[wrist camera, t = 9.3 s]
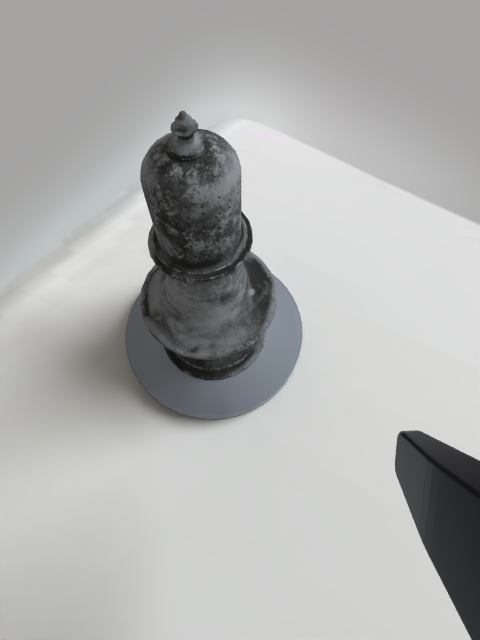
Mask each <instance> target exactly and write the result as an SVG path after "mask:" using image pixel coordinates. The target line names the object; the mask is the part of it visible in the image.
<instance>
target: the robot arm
mask: <svg viewBox="0 0 480 640" xmlns="http://www.w3.org/2000/svg"><path fill="white" fill-rule="evenodd" d="M395 471H396V475H397V478H398V480H399V483H400V486H401V488H402V491H403V493H404V496H405V499H406V501H407V504H408V506H409V509H410V512H411V514H412V517H413V519H414V522H415V525H416V527H417V530H418V532H419V535H420V537H421V540H422V542H423V544H424V546H425V549H426V551H427V553H428V555H429V557H430V559H431V561H432V563H433V565H434V567H435V569H436V571H437V573H438V575H439V576H440V578H441V580H442V582H443V584H444V586H445V588H446V590H447V592H448V594H449V596H450V598H451V600H452V602H453V604H454V606H455V608H456V610H457V612H458V614H459V616H460V618H461V620H462V622H463V624H464V626H465V628H466V629H467V631H468V633H469V635H470V637H471V639H472V640H480V461H479V460H477V459H475V458H473V457H471V456H469V455H467V454H465V453H463V452H461V451H459V450H457V449H455V448H453V447H451V446H449V445H447V444H445V443H443V442H441V441H439V440H437V439H435V438H433V437H431V436H429V435H427V434H425V433H423V432H421V431H417V430H415V431H401V432H400V433H399V434H398V437H397V446H396V457H395Z"/></svg>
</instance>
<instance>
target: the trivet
mask: <svg viewBox="0 0 480 640" xmlns="http://www.w3.org/2000/svg"><path fill="white" fill-rule="evenodd" d="M271 274H272V273H271ZM272 276H273V279H274V281H275V284H276V289H277V305H276V309H275V314H274V318H273V320H272V321H271V323H270V325H269V327H268V328H267V330H266V337H265V342H264V346H263V349H262V351H261V352H260V354H259V356H258V358H257V359H256V360H255V361H254V362H253V363H252V364H251V365H250V366H249V367H248V368H247V369H246V370H244V371H242V372H241V373H239V374H237V375H235V376H233V377H229V378H225V379H222V380H204V379H200V378H195V377H192V376H190V375H188V374H186V373H185V372H183V371H181V370H180V369H179V368H178V367H177V366H176V365H174V364H173V363H172V362H171V360H170V358H169V357H168V355H167V353H166V351H165V349H164V346H163V345H162V344H161V343H160V342H159V341H158V340H157V339H155V338H154V337H153V336H152V335H151V333H150V331H149V329H148V327H147V326H146V324H145V322H144V320H143V316H142V311H141V306H140V299H141V294H140V295H139V297H138V298H137V300H136V302H135V304H134V306H133V308H132V310H131V313H130V316H129V319H128V323H127V328H126V349H127V354H128V358H129V362H130V364H131V367H132V369H133V371H134V373H135V375H136V376H137V378H138V379H139V381H140V382H141V384H142V385H143V386H144V388H145V389H146V390H147V391H148V392H149V394H150V395H151V396H153V397H154V398H155V399H156V400H157V401H158V402H159V403H161V404H162V405H164V406H166V407H167V408H169V409H171V410H173V411H175V412H177V413H179V414H182V415H185V416H189V417H193V418H199V419H211V420H216V419H227V418H231V417H236V416H240V415H242V414H245V413H248V412H250V411H252V410H254V409H256V408H258V407H260V406H262V405H263V404H264V403H266V402H267V401H269V400H270V399H271V398H272V397H273V396H275V395H276V394H277V393H278V392H279V391H280V390H281V388H282V387H283V386H284V385H285V383H286V382H287V381H288V379H289V377H290V375H291V374H292V372H293V370H294V367H295V365H296V362H297V359H298V356H299V352H300V349H301V343H302V323H301V317H300V313H299V310H298V307H297V305H296V303H295V301H294V299H293V297H292V295H291V294H290V292H289V291H288V289H287V288H286V287H285V286H284V284H283V283H282V282H281V281H280V280H279V279H278V278H276V277H275V276H274V275H273V274H272Z"/></svg>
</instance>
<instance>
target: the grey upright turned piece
mask: <svg viewBox="0 0 480 640" xmlns="http://www.w3.org/2000/svg"><path fill="white" fill-rule="evenodd" d="M171 131H172V133H169V134H167V135H165V136H163V137H162V138H160V139H158V140H157V141H156V142H155V143H154V144H153V145H152V146H151V147H150V149H149V150H148V152H147V154H146V156H145V158H144V159H143V161H142V165H141V184H142V188H143V192H144V195H145V199H146V202H147V206H148V209H149V212H150V216H151V219H152V222H153V225H152V228H151V230H150V232H149V238H148V247H149V252H150V256H151V258H152V259H153V261H154V263H155V266H154V267H153V268H152V269H151V271H150V272H149V273H148V275H147V277H146V279H145V282H144V284H143V287H142V290H141V299H140V306H141V311H142V316H143V320H144V322H145V324H146V326H147V327H148V329H149V331H150V333H151V335H152V336H153V337H154V338H155V339H157V340H158V341H159V342H160V343H161V344H162V345H163V346H164V349H165V351H166V353H167V355H168V357H169V358H170V360H171V362H172V363H173V364H174V365H176V366H177V367H178V368H179V369H180V370H181V371H183V372H185V373H186V374H188V375H190V376H192V377H195V378H200V379H204V380H222V379H225V378H229V377H233V376H235V375H237V374H239V373H241V372H242V371H244V370H246V369H247V368H248V367H249V366H250V365H251V364H252V363H253V362H254V361H255V360H256V359H257V358H258V356H259V354H260V352H261V351H262V349H263V346H264V342H265V337H266V330H267V328H268V327H269V325H270V323H271V321H272V320H273V318H274V314H275V309H276V305H277V289H276V284H275V281H274V279H273V276H272V274H271V271H270V270H269V269H268V268H267V266H266V265H265V264H264V262H263V261H262V260H261V259H260V258H259V257H257V256H256V255H255V254H253V253H252V252H251V251H250V249H251V246H252V241H253V240H252V228H251V225H250V223H249V220H248V219H247V217H246V216H245V215H244V214H243V212H242V211H241V166H240V162H239V159H238V156H237V154H236V151H235V150H234V149H233V148H232V146H231V145H230V144H229V143H228V142H227V141H226V140H225V139H224V138H222V137H221V136H219V135H218V134H216V133H213V132H211V131H208V130H203V129H198V123H197V122H196V121H195V120H194V119H192V118H191V116H190V115H188V114H186V112H185V111H181V112H180V113H179V115H178V116H177V117H176V118H175V121H174V122H173V123H172V124H171Z"/></svg>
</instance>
